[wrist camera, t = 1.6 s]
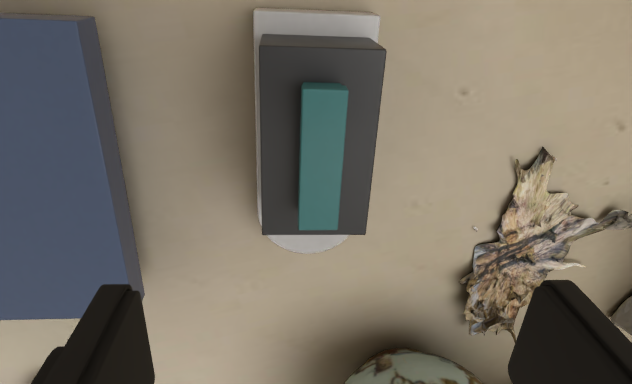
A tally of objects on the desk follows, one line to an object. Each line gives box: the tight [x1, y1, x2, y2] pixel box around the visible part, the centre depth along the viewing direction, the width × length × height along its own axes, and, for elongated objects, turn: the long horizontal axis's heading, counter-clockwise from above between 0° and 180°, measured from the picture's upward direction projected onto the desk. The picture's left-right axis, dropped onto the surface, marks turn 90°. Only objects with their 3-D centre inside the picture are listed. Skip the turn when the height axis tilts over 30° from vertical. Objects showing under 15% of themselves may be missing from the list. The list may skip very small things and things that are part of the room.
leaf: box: [459, 147, 632, 343], centre depth 29 cm, size 11×15×2 cm
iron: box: [253, 8, 386, 254], centre depth 21 cm, size 14×6×7 cm, turn 178°
